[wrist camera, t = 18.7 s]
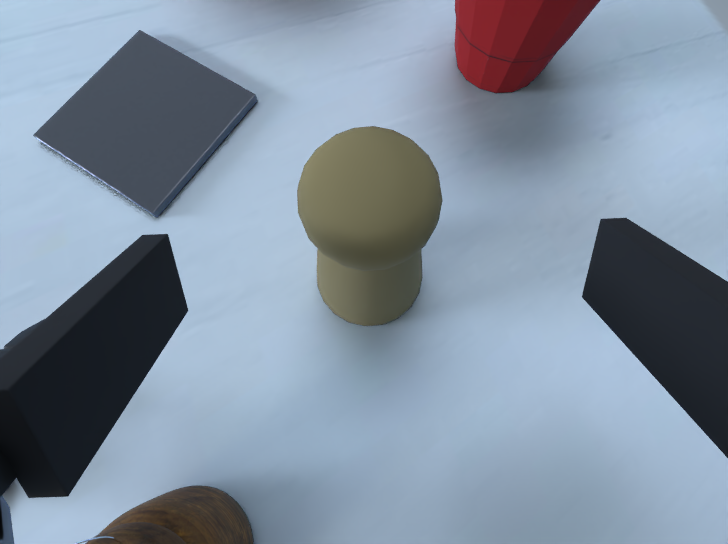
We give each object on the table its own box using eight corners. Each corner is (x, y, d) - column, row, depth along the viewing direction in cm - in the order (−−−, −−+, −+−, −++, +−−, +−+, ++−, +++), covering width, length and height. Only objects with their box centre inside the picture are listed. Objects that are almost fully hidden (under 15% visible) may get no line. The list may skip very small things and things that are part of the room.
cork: (420, 329, 23) (462, 269, 13) (311, 322, 23) (263, 256, 13) (423, 228, 25) (463, 101, 15) (322, 221, 25) (288, 92, 15)
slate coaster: (258, 100, 28) (255, 94, 27) (157, 218, 25) (152, 214, 25) (143, 36, 30) (139, 29, 29) (39, 140, 27) (32, 135, 27)
